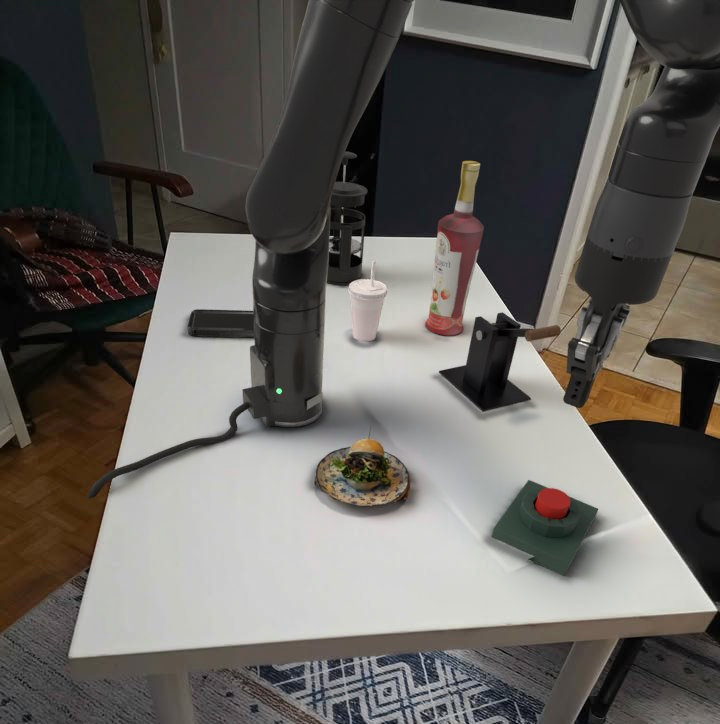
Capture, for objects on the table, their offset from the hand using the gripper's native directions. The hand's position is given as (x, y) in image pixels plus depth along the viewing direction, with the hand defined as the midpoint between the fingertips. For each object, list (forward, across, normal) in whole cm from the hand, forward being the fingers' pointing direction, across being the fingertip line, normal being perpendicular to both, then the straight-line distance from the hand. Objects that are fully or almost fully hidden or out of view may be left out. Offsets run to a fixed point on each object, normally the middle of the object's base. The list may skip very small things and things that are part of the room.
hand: (574, 402), depth 68 cm
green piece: (+16, +2, +2) cm, 17 cm away
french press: (+17, -45, -59) cm, 76 cm away
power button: (+13, +2, +2) cm, 13 cm away
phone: (+17, -14, -60) cm, 64 cm away
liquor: (+17, -37, -31) cm, 51 cm away
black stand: (+17, -23, -17) cm, 33 cm away
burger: (+17, +8, -20) cm, 27 cm away
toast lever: (+6, -20, -13) cm, 25 cm away
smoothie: (+17, -25, -40) cm, 50 cm away
